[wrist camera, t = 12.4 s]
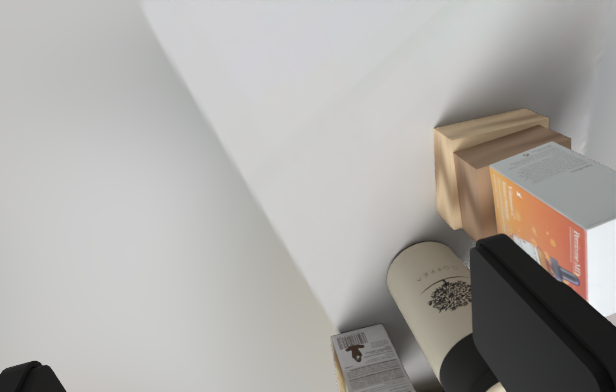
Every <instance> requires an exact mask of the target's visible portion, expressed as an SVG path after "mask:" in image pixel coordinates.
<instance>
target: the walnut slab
mask: <svg viewBox="0 0 616 392" xmlns="http://www.w3.org/2000/svg"><path fill="white" fill-rule="evenodd" d="M549 142H555V143H557V144H559V145H562V146H564V147H566V148H568V149H570V150H571V138H568V137H566V136H564V135H562V134H559V133H557V132H555V131H552V130H550V129H548V128H546V127H543V126H541V125H536V126H533V127H530V128H527V129H524V130H521V131H518V132H515V133H512V134H509V135H506V136H503V137H500V138H497V139H493V140H490V141H487V142H484V143H481V144H478V145H475V146H472V147H469V148H466V149H463V150H460V151H457V152H454V153H453V157H454V165H455V173H456V181H457V188H458V196H459V204H460V212H461V220H462V228H463V230H464V231H465V232H466V233H467V234H468V235H469V236H470V237H471V238H472V239H473V240H474V241H475V242H477V240H479V239H482V238H486V237H489V236H493V235H497V234H498V231H497V222H496V214H495V205H494V197H493V189H492V182H491V177H490V171H489V165H491V164H494V163H496V162H499V161H501V160H504V159H507V158H509V157H512V156H515V155H517V154H520V153H522V152H525V151H528V150H530V149H533V148H535V147H538V146H541V145H543V144H546V143H549Z"/></svg>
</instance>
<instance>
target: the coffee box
mask: <svg viewBox="0 0 616 392" xmlns="http://www.w3.org/2000/svg"><path fill="white" fill-rule="evenodd" d="M331 347H332V353H333V361H334V368H335V375H336V382H337V388H338V392H416V391H415V389H414V387H413V385H412V383H411V381H410V379H409V377H408V375H407V373H406V371H405V369H404V367H403V365H402V363H401V361H400V359H399V357H398V354H397V352H396V350H395V348H394V346H393V344H392V342H391V340H390V338H389V336H388V334H387V332H386V330H385V328H384V326H383V324H379V325H374V326H370V327H366V328H362V329H358V330H354V331H350V332H346V333H342V334H338V335H334V336H331Z"/></svg>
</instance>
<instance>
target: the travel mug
mask: <svg viewBox="0 0 616 392" xmlns="http://www.w3.org/2000/svg"><path fill="white" fill-rule="evenodd" d="M387 286H388V289H389V291H390V293H391V295H392V297H393V299H394V301H395V302H396V304H397V306H398V308H399V310H400V311H401V313H402V315H403V317H404V319H405V320H406V322H407V324H408V326H409V328H410V329H411V331H412V333H413V335H414V337H415V339H416V340H417V342H418V344H419V346H420V348H421V349H422V351H423V353H424V355H425V357H426V358H427V360H428V362H429V364H430V366H431V367H432V369H433V371H434V373H435V375H436V376H437V378H438V380H439V382H440V384H441V386H442V387H443V389H444V391H445V392H506V390H505V389H504V388H503V386H502V385H501V383H500V382H499V380H498V379H497V377H496V376H495V375H494V373H493V372H492V370H491V369H490V367H489V366H488V365H487V363H486V362H485V360H484V359H483V357H482V356H481V354H480V353H479V351H478V350H477V348H476V346H475V343H474V340H473V334H472V306H471V276H470V270H469V269H468V268H467V267H466V266H465V265H464V263H463V262H462V261H461V260H460V259H459V258H458V257H457V255H456V254H455V253H454V252H453V251H452V250H451V249H450V248H449V247H448V246H446V245H444V244H442V243H438V242H422V243H418V244H415V245H413V246H411V247H409V248H407V249H405V250H404V251H403V252H401V253H400V254H399V255H398V256H397V257H396V258H395V260H394V261H393V262H392V264H391V266H390V268H389V270H388V274H387Z"/></svg>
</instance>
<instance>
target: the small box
mask: <svg viewBox="0 0 616 392" xmlns="http://www.w3.org/2000/svg"><path fill="white" fill-rule="evenodd" d="M489 171H490V177H491V182H492V189H493V197H494V205H495V214H496V222H497V231H498V234H500V233H503V234H506V235H507V236H509V237H510V238H511V239H512V240H513V241H514V242H515V243H516V244H517V245H519V246H520V247H521V248H522V249H523V250H524V251H525V252H526V253H528V254H529V255H530V256H531V257H532V258H533V259H534V260H535V261H536V262H538V263H539V264H540V265H541V266H542V267H543V268H544V269H545V270H547V271H548V272H549V273H550V274H551V275H552V276H553V277H554V278H555V279H557V280H558V281H561V282H564V283H565V284H567V285H568V286H570V287H571V288H572V289H573V290H574V291H575V292H577V293H578V294H579V295H580V296H581V297H582V298H583V299H585V300H586V301H587V302H588V303H589V304H590V305H591V306H593V307H594V308H595V309H596V310H597V311H598V312H599V313H600V314H602V315H603V316H604V317H606V316H608V315H611V314H613V313H616V171H615V170H613V169H611V168H609V167H607V166H604V165H602V164H600V163H598V162H596V161H594V160H592V159H589V158H587V157H585V156H583V155H581V154H579V153H576V152H574V151H572V150H570V149H568V148H566V147H564V146H562V145H559V144H557V143H555V142H549V143H546V144H543V145H541V146H538V147H535V148H533V149H530V150H528V151H525V152H522V153H520V154H517V155H515V156H512V157H509V158H507V159H504V160H501V161H499V162H496V163H494V164H491V165H489Z"/></svg>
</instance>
